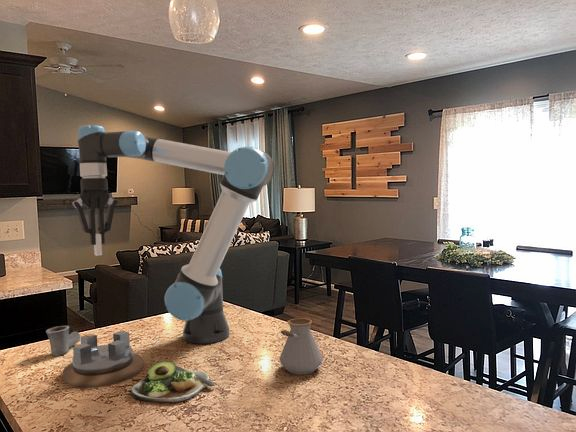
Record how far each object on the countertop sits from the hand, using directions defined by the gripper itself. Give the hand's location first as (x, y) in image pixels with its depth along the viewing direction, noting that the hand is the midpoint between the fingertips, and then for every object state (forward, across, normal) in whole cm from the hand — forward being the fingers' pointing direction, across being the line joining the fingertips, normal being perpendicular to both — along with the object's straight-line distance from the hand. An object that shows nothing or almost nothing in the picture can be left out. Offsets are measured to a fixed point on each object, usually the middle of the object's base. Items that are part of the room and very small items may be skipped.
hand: (98, 255), depth 140 cm
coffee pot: (+30, -31, +56) cm, 71 cm away
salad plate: (+30, -4, +40) cm, 50 cm away
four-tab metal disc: (+27, +5, +19) cm, 33 cm away
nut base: (+29, +6, +19) cm, 35 cm away
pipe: (+30, +10, -7) cm, 32 cm away
